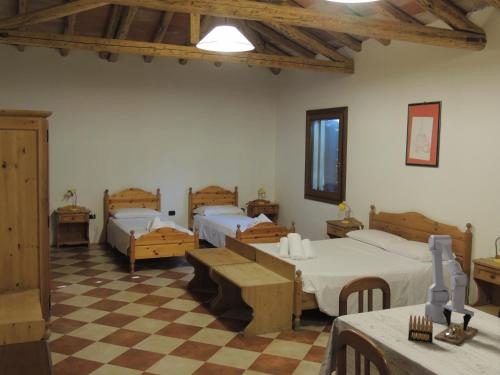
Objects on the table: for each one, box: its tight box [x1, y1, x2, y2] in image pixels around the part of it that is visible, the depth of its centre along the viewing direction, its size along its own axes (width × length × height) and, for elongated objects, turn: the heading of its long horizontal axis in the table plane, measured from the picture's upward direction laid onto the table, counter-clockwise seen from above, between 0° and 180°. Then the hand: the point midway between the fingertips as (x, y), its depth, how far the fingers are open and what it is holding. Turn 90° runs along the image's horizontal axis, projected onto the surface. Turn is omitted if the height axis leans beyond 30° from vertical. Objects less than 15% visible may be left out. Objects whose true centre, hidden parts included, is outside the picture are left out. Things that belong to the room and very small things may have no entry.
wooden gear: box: [449, 323, 464, 335], centre depth 239 cm, size 6×6×3 cm
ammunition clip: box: [407, 314, 434, 344], centre depth 232 cm, size 11×2×12 cm, turn 71°
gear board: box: [433, 322, 479, 346], centre depth 240 cm, size 11×24×1 cm, turn 136°
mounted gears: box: [444, 321, 470, 339], centre depth 239 cm, size 6×20×3 cm, turn 136°
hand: (456, 327), depth 239 cm, fingers open, 7 cm apart
